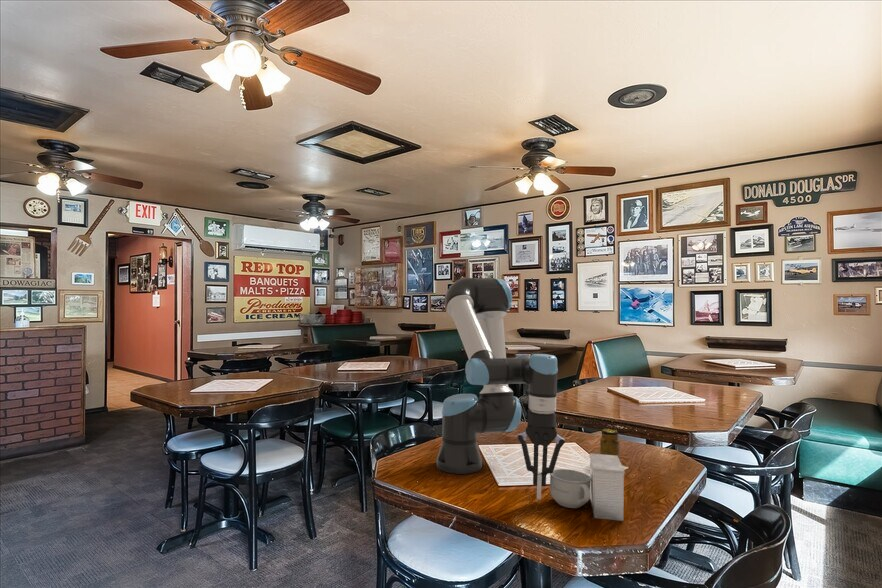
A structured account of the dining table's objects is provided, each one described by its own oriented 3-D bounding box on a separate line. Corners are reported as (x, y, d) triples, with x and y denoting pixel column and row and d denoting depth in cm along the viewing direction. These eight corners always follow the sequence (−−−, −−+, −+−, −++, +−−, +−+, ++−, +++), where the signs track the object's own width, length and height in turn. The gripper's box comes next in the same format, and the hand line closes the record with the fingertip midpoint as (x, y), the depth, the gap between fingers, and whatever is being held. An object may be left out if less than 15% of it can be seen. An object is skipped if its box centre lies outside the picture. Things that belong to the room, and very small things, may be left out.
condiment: (606, 461, 162) (606, 426, 162) (629, 468, 155) (629, 432, 155) (594, 465, 157) (594, 430, 157) (617, 473, 150) (617, 436, 151)
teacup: (544, 495, 131) (544, 467, 132) (581, 494, 132) (581, 466, 133) (561, 518, 118) (561, 487, 118) (602, 517, 119) (602, 485, 119)
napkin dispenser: (593, 518, 118) (593, 468, 118) (589, 498, 130) (589, 453, 130) (624, 521, 116) (624, 471, 117) (617, 501, 128) (617, 455, 129)
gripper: (517, 411, 125) (514, 499, 124) (566, 415, 122) (563, 506, 121) (519, 406, 132) (516, 489, 132) (565, 410, 129) (562, 495, 129)
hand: (538, 497), depth 127 cm, fingers closed
